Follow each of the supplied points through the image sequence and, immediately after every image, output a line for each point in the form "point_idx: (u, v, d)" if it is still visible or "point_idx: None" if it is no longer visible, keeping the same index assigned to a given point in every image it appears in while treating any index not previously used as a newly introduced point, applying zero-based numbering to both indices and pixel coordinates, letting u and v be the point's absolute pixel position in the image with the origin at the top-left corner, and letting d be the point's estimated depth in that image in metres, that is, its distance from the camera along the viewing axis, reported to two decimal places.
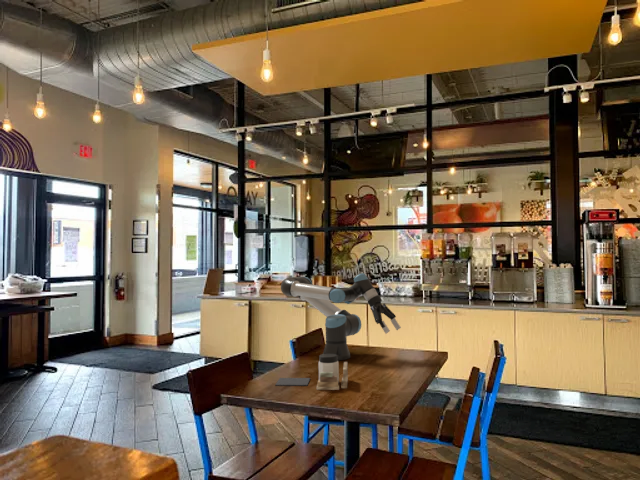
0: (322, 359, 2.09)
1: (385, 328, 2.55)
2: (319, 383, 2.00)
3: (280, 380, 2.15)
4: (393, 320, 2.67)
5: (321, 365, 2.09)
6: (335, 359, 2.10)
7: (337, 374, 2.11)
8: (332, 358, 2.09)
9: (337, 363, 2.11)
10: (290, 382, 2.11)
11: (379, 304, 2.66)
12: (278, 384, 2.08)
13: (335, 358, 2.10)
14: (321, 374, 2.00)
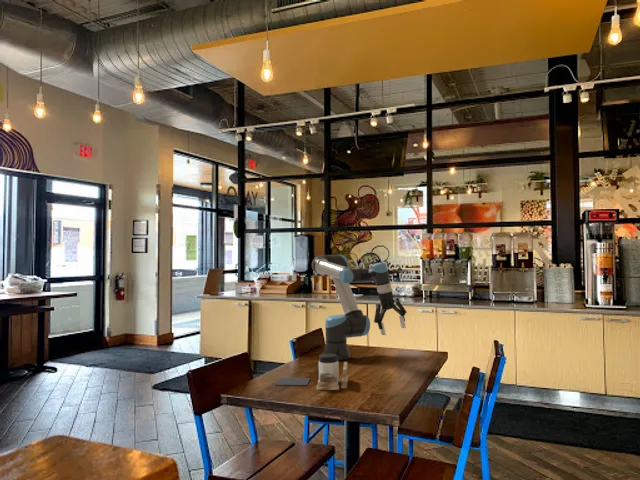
0: (322, 359, 2.09)
1: (382, 330, 2.47)
2: (319, 383, 2.00)
3: (280, 380, 2.15)
4: (401, 317, 2.54)
5: (321, 365, 2.09)
6: (335, 359, 2.10)
7: (337, 374, 2.11)
8: (332, 358, 2.09)
9: (337, 363, 2.11)
10: (290, 382, 2.11)
11: (389, 300, 2.50)
12: (278, 384, 2.08)
13: (335, 358, 2.10)
14: (321, 374, 2.00)
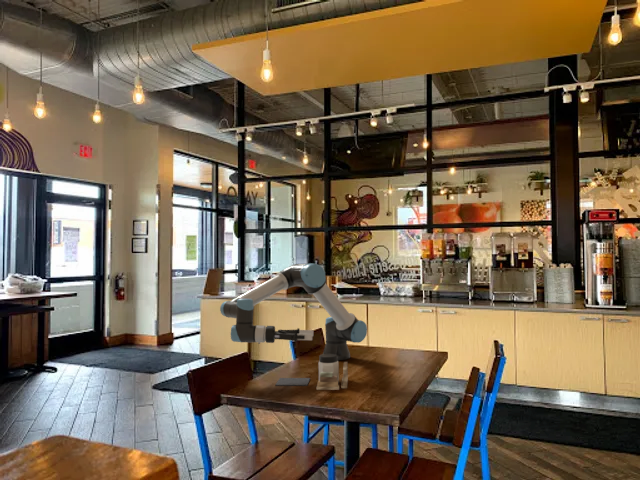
0: (322, 359, 2.09)
1: None
2: (319, 383, 2.00)
3: (280, 380, 2.15)
4: None
5: (321, 365, 2.09)
6: (335, 359, 2.10)
7: (337, 374, 2.11)
8: (332, 358, 2.09)
9: (337, 363, 2.11)
10: (290, 382, 2.11)
11: None
12: (278, 384, 2.08)
13: (335, 358, 2.10)
14: (321, 374, 2.00)
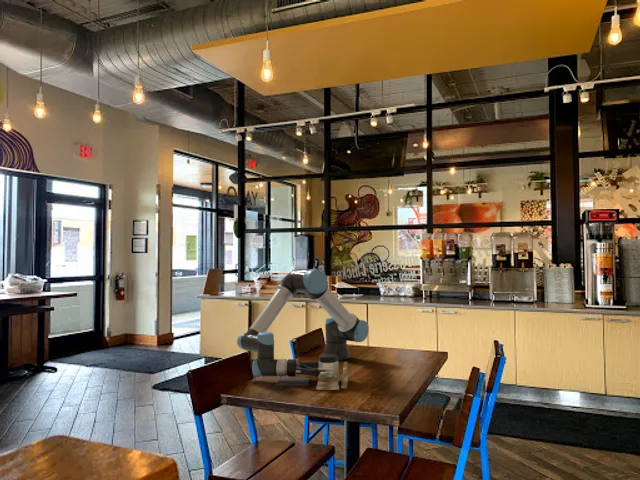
0: (322, 359, 2.09)
1: None
2: (319, 383, 2.00)
3: (280, 380, 2.15)
4: None
5: (321, 365, 2.09)
6: (335, 359, 2.10)
7: (337, 374, 2.11)
8: (332, 358, 2.08)
9: (337, 363, 2.11)
10: (290, 382, 2.11)
11: None
12: (278, 384, 2.08)
13: (335, 358, 2.10)
14: (321, 374, 2.00)
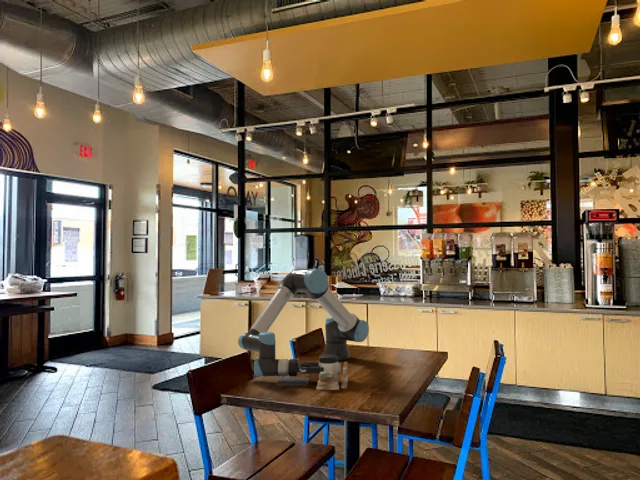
0: (321, 359, 2.08)
1: None
2: (319, 383, 2.00)
3: (280, 380, 2.15)
4: None
5: (320, 365, 2.09)
6: (334, 360, 2.08)
7: (336, 375, 2.09)
8: (331, 359, 2.07)
9: (336, 364, 2.09)
10: (290, 382, 2.11)
11: None
12: (278, 384, 2.08)
13: (334, 359, 2.08)
14: (321, 374, 2.00)
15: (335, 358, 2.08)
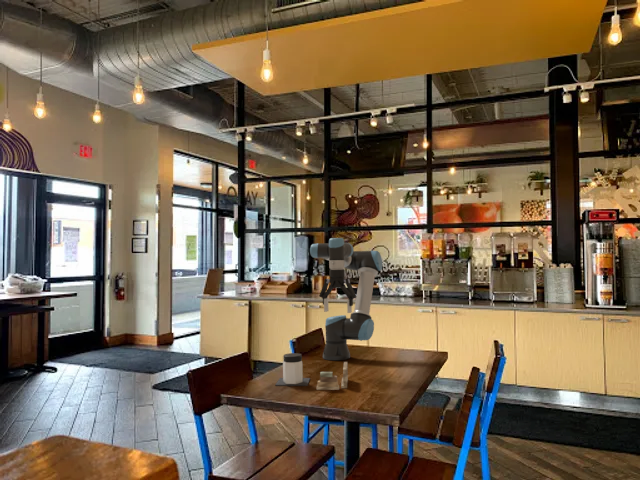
0: (285, 358, 2.09)
1: None
2: (319, 383, 2.00)
3: (280, 380, 2.15)
4: None
5: (284, 364, 2.10)
6: (298, 359, 2.09)
7: (300, 374, 2.10)
8: (294, 358, 2.08)
9: (300, 363, 2.10)
10: None
11: (337, 279, 2.34)
12: (278, 384, 2.08)
13: (298, 358, 2.09)
14: (321, 374, 2.00)
15: (299, 357, 2.10)
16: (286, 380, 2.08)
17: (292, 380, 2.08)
